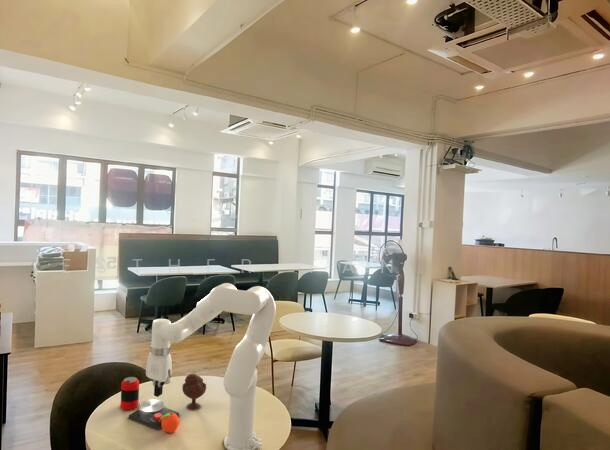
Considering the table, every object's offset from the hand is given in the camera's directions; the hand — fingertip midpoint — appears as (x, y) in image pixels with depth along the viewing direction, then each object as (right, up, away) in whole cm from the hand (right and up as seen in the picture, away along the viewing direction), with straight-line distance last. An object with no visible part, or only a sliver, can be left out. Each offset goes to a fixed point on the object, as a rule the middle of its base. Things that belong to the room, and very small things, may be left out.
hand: (158, 395), depth 149 cm
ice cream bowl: (+12, -13, +16) cm, 24 cm away
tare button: (0, -10, 0) cm, 10 cm away
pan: (-5, -9, +8) cm, 13 cm away
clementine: (+5, -13, -4) cm, 14 cm away
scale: (-3, -12, +6) cm, 14 cm away
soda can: (-16, -12, +14) cm, 24 cm away
